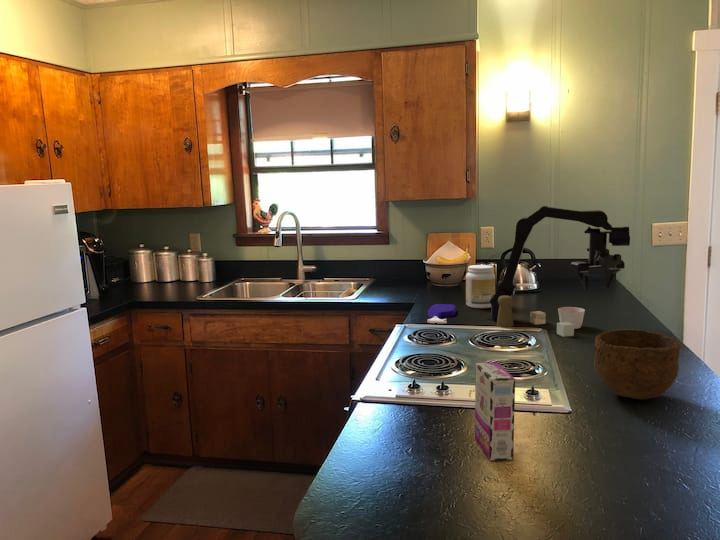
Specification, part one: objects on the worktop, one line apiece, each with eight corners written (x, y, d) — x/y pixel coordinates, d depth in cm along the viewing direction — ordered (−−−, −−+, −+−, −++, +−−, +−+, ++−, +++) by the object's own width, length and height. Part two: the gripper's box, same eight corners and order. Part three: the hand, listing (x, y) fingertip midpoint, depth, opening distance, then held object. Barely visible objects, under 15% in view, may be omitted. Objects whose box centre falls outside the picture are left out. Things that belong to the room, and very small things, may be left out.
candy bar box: (515, 460, 114) (516, 378, 111) (489, 462, 113) (490, 379, 111) (497, 436, 125) (497, 360, 122) (473, 437, 124) (474, 362, 122)
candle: (573, 322, 219) (573, 306, 218) (589, 328, 211) (590, 310, 210) (552, 325, 216) (552, 308, 215) (568, 330, 208) (568, 313, 207)
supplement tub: (501, 306, 250) (501, 266, 248) (480, 310, 243) (480, 269, 241) (480, 301, 260) (480, 263, 258) (459, 305, 253) (459, 266, 251)
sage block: (556, 334, 204) (556, 322, 204) (567, 333, 205) (567, 321, 205) (563, 336, 201) (563, 325, 200) (573, 335, 201) (574, 324, 201)
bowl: (674, 417, 132) (677, 352, 130) (585, 402, 142) (587, 342, 140) (680, 391, 148) (684, 333, 145) (600, 379, 157) (602, 325, 155)
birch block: (530, 322, 222) (530, 311, 221) (539, 321, 223) (539, 311, 222) (535, 324, 218) (535, 314, 217) (545, 323, 219) (545, 313, 218)
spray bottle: (431, 303, 247) (421, 317, 223) (458, 304, 244) (450, 318, 220) (431, 310, 247) (421, 325, 224) (458, 311, 244) (450, 326, 221)
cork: (513, 327, 214) (514, 297, 213) (496, 327, 215) (497, 297, 214) (513, 323, 220) (513, 294, 218) (496, 323, 221) (496, 294, 220)
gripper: (588, 249, 201) (587, 294, 204) (636, 246, 205) (634, 290, 208) (569, 246, 212) (568, 289, 214) (615, 243, 216) (613, 285, 218)
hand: (596, 289), depth 213 cm, fingers open, 8 cm apart
